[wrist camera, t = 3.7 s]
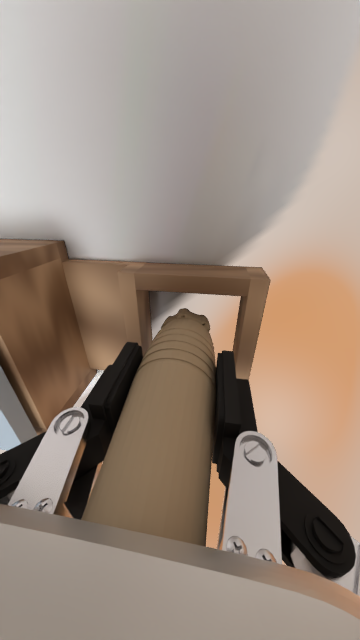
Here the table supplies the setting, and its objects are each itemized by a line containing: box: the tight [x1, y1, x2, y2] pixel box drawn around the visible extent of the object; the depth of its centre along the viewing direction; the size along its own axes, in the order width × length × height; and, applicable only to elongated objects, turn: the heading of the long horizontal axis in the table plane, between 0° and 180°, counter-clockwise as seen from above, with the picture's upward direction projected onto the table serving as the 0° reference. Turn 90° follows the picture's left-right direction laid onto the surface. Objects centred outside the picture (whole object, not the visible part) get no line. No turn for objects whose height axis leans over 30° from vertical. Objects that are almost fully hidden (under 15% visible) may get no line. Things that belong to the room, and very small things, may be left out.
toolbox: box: [0, 239, 270, 435], centre depth 15 cm, size 12×33×6 cm, turn 91°
